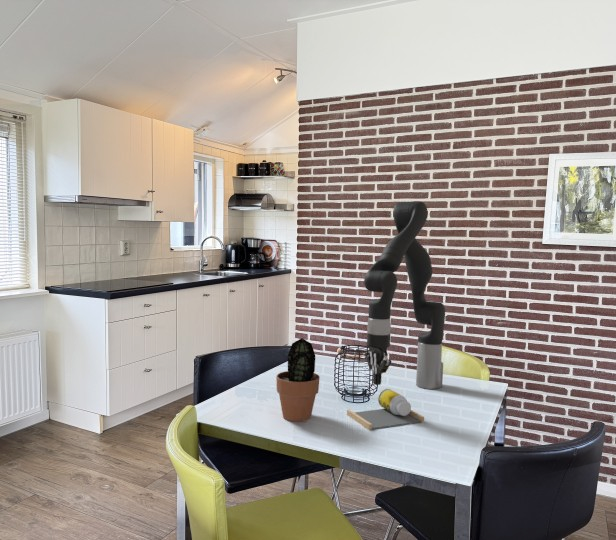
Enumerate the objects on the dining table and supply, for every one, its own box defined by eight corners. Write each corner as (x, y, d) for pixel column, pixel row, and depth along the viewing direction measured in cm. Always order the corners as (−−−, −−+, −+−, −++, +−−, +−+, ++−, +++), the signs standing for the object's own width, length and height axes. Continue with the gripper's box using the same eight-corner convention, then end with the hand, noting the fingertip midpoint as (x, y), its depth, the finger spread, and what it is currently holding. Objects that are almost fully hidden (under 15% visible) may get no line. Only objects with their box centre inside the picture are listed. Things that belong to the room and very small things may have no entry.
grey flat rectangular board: (398, 407, 174) (399, 403, 174) (424, 421, 161) (424, 416, 161) (346, 414, 166) (346, 409, 165) (369, 429, 153) (369, 424, 153)
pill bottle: (374, 394, 171) (393, 405, 160) (389, 384, 173) (409, 394, 162) (381, 410, 172) (400, 422, 162) (396, 400, 174) (416, 411, 164)
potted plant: (266, 415, 163) (268, 337, 162) (300, 406, 172) (302, 333, 170) (293, 428, 153) (295, 345, 151) (327, 418, 161) (329, 340, 160)
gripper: (400, 335, 162) (397, 388, 163) (378, 327, 174) (376, 378, 175) (379, 336, 159) (377, 391, 160) (358, 328, 171) (356, 379, 172)
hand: (376, 384), depth 168 cm, fingers closed
